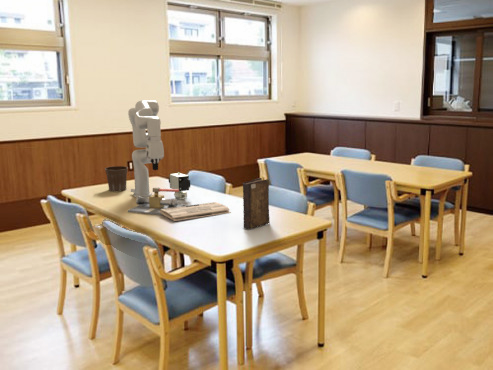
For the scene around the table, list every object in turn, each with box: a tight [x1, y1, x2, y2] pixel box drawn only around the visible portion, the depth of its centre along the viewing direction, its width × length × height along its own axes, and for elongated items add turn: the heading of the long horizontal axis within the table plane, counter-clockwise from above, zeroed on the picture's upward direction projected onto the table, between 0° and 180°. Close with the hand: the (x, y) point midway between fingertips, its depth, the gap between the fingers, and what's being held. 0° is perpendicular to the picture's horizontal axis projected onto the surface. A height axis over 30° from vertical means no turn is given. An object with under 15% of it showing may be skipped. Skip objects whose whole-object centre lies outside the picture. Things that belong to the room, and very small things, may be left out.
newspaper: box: [160, 201, 231, 222], centre depth 284 cm, size 37×19×3 cm, turn 124°
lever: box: [152, 187, 179, 193], centre depth 292 cm, size 16×4×2 cm, turn 79°
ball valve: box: [168, 171, 191, 200], centre depth 321 cm, size 18×8×18 cm, turn 36°
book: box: [242, 177, 270, 230], centre depth 257 cm, size 17×7×25 cm, turn 133°
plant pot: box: [104, 165, 129, 192], centre depth 350 cm, size 16×16×16 cm
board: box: [127, 203, 186, 216], centre depth 295 cm, size 26×25×1 cm
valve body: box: [135, 192, 179, 209], centre depth 295 cm, size 25×6×9 cm, turn 71°
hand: (155, 169), depth 286 cm, fingers closed
